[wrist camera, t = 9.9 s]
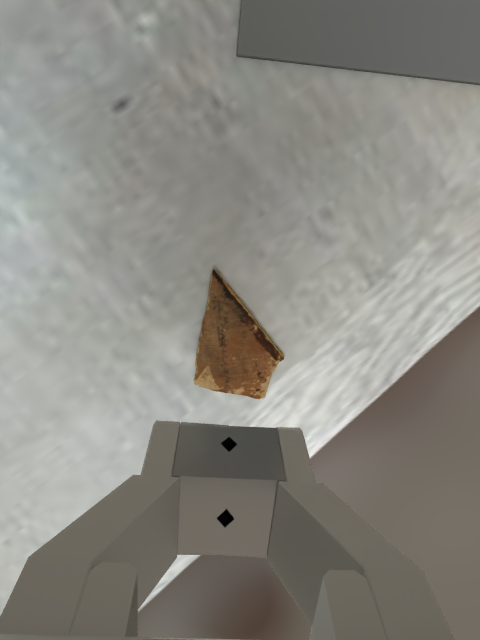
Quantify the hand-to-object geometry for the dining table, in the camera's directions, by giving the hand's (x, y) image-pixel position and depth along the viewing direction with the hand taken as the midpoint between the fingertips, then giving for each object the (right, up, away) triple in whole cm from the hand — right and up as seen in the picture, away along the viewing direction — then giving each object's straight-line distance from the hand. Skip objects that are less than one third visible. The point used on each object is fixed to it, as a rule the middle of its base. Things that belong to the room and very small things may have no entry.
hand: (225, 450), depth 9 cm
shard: (-1, +1, +31) cm, 31 cm away
